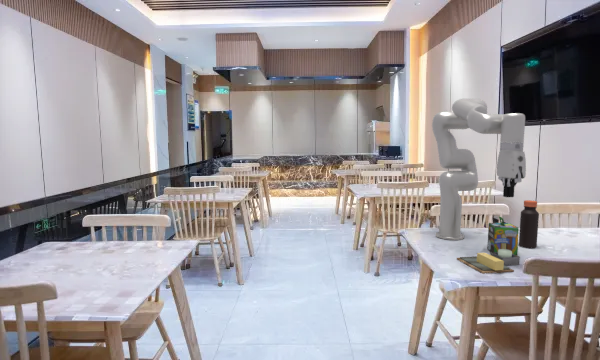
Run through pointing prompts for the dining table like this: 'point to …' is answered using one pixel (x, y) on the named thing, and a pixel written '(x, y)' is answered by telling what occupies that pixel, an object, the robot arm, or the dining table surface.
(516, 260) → the button housing
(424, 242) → the dining table surface
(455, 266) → the dining table surface
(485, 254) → the chalk stick
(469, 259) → the slate board
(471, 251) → the dining table surface
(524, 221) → the bottle
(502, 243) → the chalk box
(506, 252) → the button cap
